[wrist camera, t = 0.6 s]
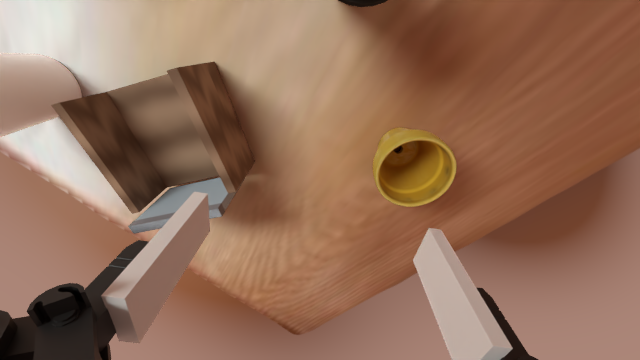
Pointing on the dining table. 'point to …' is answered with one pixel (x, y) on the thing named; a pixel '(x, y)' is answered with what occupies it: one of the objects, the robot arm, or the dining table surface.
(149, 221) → the pale grey panel
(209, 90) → the small wooden shelf
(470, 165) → the dining table surface
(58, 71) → the candle holder
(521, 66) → the dining table surface
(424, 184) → the plant pot
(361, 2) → the coffee cup
